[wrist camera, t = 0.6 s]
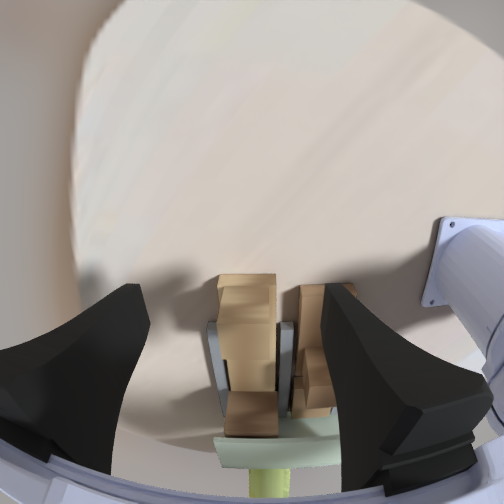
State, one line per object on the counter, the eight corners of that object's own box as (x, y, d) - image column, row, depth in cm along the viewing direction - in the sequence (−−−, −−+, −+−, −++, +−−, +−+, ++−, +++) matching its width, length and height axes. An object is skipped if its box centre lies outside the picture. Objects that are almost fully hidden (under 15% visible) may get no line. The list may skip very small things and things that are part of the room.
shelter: (348, 377, 26) (361, 436, 20) (337, 411, 29) (346, 463, 23) (221, 381, 27) (213, 441, 21) (228, 414, 30) (222, 467, 24)
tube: (237, 428, 31) (225, 575, 14) (271, 415, 30) (269, 577, 12) (266, 443, 33) (263, 575, 16) (299, 432, 31) (304, 574, 14)
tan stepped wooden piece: (275, 273, 21) (278, 323, 16) (274, 403, 28) (274, 447, 23) (219, 274, 21) (207, 323, 17) (236, 403, 29) (231, 446, 24)
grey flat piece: (362, 318, 23) (366, 330, 22) (338, 406, 29) (340, 417, 27) (208, 322, 24) (205, 334, 22) (224, 409, 29) (223, 420, 28)
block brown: (352, 283, 21) (373, 331, 16) (337, 361, 25) (348, 408, 20) (300, 285, 22) (308, 335, 17) (294, 363, 25) (298, 412, 20)
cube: (277, 391, 25) (278, 431, 21) (276, 415, 27) (276, 452, 23) (228, 391, 25) (223, 430, 21) (232, 415, 27) (229, 451, 23)
